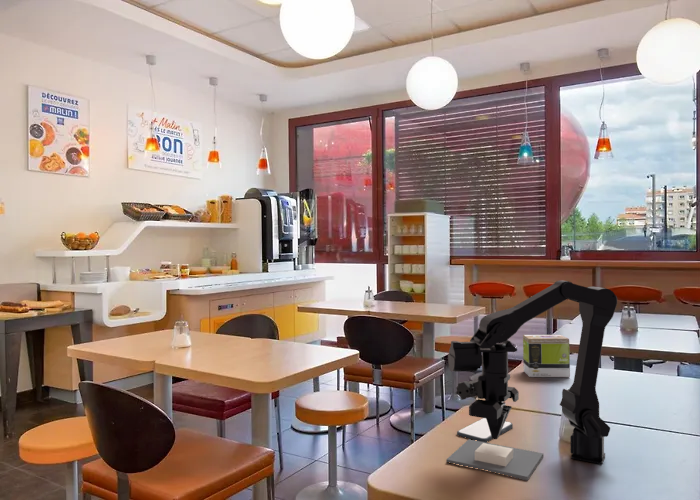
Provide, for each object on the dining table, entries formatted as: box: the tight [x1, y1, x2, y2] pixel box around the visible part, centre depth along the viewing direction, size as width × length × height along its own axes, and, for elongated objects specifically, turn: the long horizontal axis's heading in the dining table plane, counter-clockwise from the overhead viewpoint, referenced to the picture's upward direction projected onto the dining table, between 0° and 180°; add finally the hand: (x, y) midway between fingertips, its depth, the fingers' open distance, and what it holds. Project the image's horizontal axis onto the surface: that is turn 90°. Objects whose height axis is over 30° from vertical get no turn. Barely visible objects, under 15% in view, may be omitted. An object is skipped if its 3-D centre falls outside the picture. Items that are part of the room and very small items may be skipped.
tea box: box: [522, 334, 571, 378], centre depth 207 cm, size 15×10×15 cm, turn 84°
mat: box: [445, 439, 544, 481], centre depth 125 cm, size 18×15×1 cm
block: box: [475, 442, 513, 466], centre depth 124 cm, size 7×2×6 cm
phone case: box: [456, 418, 514, 443], centre depth 144 cm, size 9×2×16 cm
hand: (494, 438), depth 124 cm, fingers closed
